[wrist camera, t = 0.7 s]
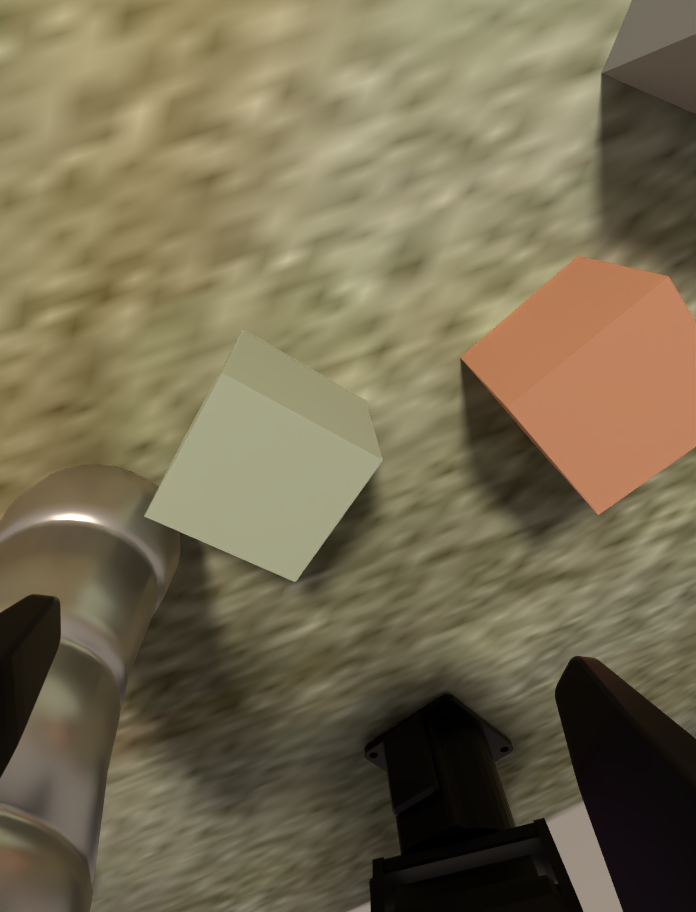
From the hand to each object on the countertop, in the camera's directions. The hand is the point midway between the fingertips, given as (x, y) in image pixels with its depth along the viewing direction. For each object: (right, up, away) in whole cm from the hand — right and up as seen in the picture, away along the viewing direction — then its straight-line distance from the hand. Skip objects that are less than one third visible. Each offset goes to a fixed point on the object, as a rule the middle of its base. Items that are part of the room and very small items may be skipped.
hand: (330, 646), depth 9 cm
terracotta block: (+9, +7, +12) cm, 16 cm away
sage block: (-3, +5, +12) cm, 13 cm away
